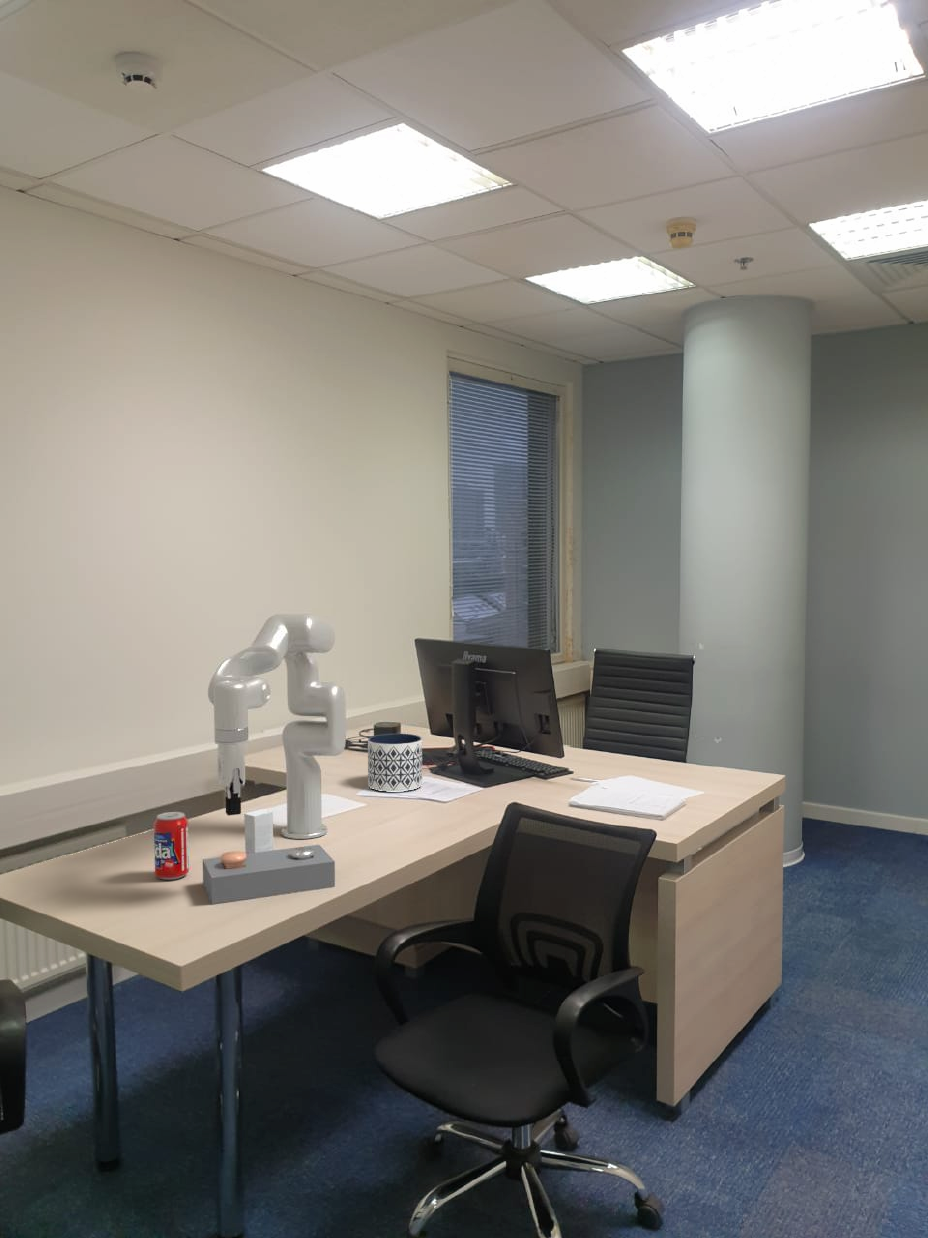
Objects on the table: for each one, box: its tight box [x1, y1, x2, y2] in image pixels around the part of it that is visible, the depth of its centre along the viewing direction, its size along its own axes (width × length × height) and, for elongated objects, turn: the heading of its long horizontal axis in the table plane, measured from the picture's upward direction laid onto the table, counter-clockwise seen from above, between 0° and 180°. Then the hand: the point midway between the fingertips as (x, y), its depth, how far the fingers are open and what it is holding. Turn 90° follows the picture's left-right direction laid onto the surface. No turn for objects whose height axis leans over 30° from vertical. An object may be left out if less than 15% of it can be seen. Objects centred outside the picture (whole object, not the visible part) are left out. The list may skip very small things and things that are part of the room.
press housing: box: [202, 844, 336, 906], centre depth 218 cm, size 14×28×6 cm, turn 114°
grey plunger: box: [290, 846, 314, 860], centre depth 221 cm, size 6×6×6 cm
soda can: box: [153, 811, 190, 881], centre depth 224 cm, size 8×8×15 cm
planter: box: [367, 733, 423, 791], centre depth 313 cm, size 18×18×16 cm
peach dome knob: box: [220, 850, 246, 869], centre depth 215 cm, size 6×6×6 cm
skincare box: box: [243, 808, 275, 854], centre depth 238 cm, size 6×4×12 cm
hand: (233, 813), depth 214 cm, fingers closed
